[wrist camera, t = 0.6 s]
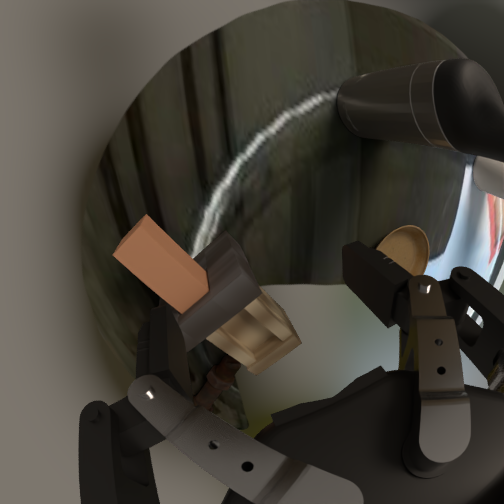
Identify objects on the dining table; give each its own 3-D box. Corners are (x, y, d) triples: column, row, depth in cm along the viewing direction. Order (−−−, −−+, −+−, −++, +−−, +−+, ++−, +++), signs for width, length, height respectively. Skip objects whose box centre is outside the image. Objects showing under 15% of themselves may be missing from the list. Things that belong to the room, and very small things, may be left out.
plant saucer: (345, 255, 41) (354, 262, 39) (410, 204, 40) (420, 208, 38) (372, 311, 48) (379, 318, 45) (426, 264, 47) (434, 270, 44)
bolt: (233, 346, 46) (198, 396, 49) (212, 349, 42) (178, 401, 45) (254, 370, 42) (214, 418, 46) (233, 375, 38) (194, 424, 42)
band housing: (161, 288, 37) (154, 346, 26) (225, 230, 35) (242, 273, 25) (236, 346, 43) (251, 404, 33) (294, 301, 42) (325, 353, 31)
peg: (121, 239, 27) (112, 255, 23) (146, 214, 27) (139, 225, 23) (204, 312, 33) (206, 333, 29) (228, 292, 32) (234, 311, 29)
